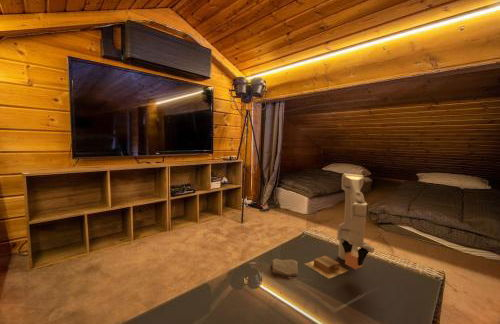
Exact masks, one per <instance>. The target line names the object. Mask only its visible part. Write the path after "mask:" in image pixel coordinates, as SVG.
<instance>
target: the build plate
mask: <svg viewBox="0 0 500 324" xmlns="http://www.w3.org/2000/svg"><path fill="white" fill-rule="evenodd" d="M304 265H305V266H307V267H308V268H311V269H312V270H313V271H316V273H318V274H319V275H322V276H324V278H327V279H329V280H330V279H332V278H334V277H337V276H339V275H342V274H344V273H346V272H347V273H348V272H349V269H346V268H344V267H343V266H341V265H339V269H338V270H336V271H333V272H330V273H328V274H327V273H326V272H324V271H322V270H321V269H319V268H317V267H316V266H314V260H313V261H309V262H305V263H304Z"/></svg>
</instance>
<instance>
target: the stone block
mask: <svg viewBox="0 0 500 324" xmlns="http://www.w3.org/2000/svg"><path fill="white" fill-rule="evenodd" d="M271 261H272V263H271V267H272V268H271V269H272V273H273V274H276V275H278V276H279V275H280V276H282V277H286V278H294V276H299V269H298V261H296V260H295V259H279V258H274V259H272V260H271Z"/></svg>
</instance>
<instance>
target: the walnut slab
mask: <svg viewBox="0 0 500 324" xmlns="http://www.w3.org/2000/svg"><path fill="white" fill-rule="evenodd" d="M313 261H314V266H316V267H317V268H319V269H321V270H322V271H324V272H326V273H327V274H328V273H330V272H333V271H336V270H338V269H339V266H340V262H339V261H336V260H334V259H333V258H331V257H329V256H327V255H323V256H320V257H317V258H314V259H313Z"/></svg>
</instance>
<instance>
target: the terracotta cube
mask: <svg viewBox="0 0 500 324" xmlns="http://www.w3.org/2000/svg"><path fill="white" fill-rule="evenodd" d="M363 264H364V263H363ZM363 264H362V265H360V266H359V265H358V252H355V251H353V250H352V251H349V252H347V253H346V258H345V260H344V265H346V266H348V267H350V268H352V269H354V270H358V269H360V268H362V267H363Z"/></svg>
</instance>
